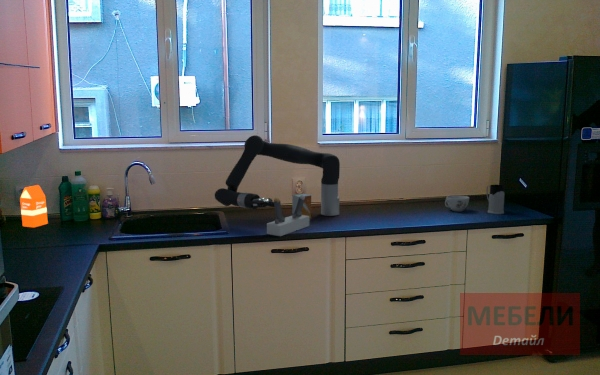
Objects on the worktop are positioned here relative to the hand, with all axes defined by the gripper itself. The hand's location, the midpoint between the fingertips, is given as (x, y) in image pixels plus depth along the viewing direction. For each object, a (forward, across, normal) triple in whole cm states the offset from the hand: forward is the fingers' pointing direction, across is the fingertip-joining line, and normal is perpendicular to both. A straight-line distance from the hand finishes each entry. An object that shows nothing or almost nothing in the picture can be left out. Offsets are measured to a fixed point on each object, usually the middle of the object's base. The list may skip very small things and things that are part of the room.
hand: (276, 204), depth 247 cm
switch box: (+2, +7, +13) cm, 15 cm away
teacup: (+53, +96, +14) cm, 111 cm away
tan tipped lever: (+2, 0, +7) cm, 7 cm away
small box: (-6, +29, +14) cm, 32 cm away
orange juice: (-109, -59, +13) cm, 125 cm away
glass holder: (+71, +107, +14) cm, 129 cm away
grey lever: (+2, +14, +8) cm, 16 cm away
